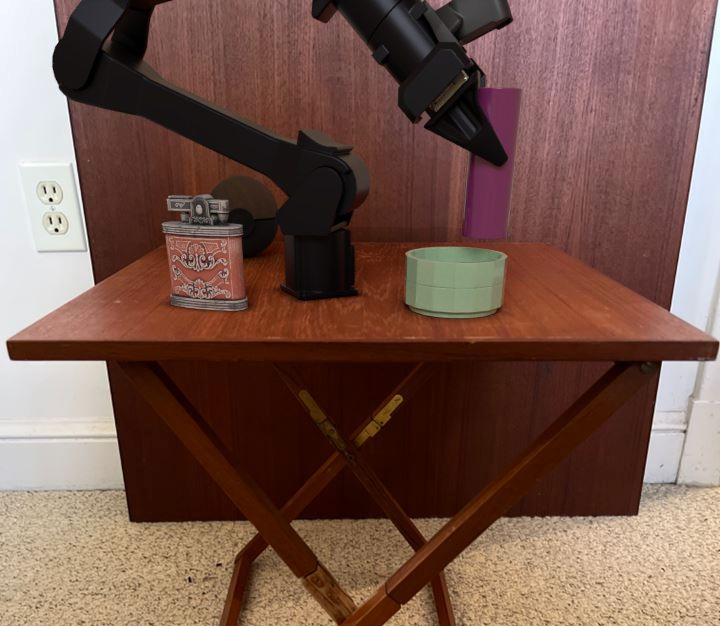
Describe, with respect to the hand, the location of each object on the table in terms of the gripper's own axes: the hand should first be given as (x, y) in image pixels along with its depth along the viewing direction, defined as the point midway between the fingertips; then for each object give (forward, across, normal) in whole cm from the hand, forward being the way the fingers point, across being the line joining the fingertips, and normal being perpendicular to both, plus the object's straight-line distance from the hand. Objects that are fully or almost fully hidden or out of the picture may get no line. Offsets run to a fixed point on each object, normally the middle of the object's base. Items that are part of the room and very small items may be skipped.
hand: (505, 162), depth 64 cm
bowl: (+7, -4, +12) cm, 14 cm away
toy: (-15, +19, +33) cm, 41 cm away
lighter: (-10, -8, +28) cm, 31 cm away
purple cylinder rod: (+4, 0, +6) cm, 7 cm away
